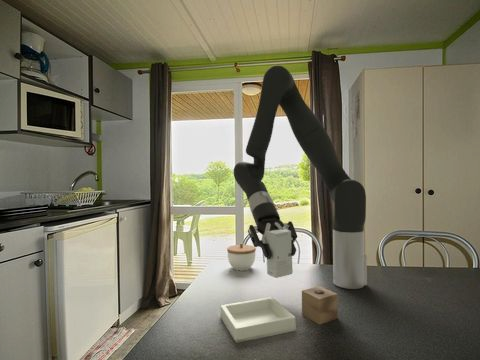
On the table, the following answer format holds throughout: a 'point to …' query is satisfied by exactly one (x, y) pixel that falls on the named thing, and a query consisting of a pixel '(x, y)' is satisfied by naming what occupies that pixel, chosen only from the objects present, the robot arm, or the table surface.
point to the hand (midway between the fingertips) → (281, 256)
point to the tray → (257, 319)
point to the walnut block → (319, 304)
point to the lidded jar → (241, 256)
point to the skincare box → (279, 253)
